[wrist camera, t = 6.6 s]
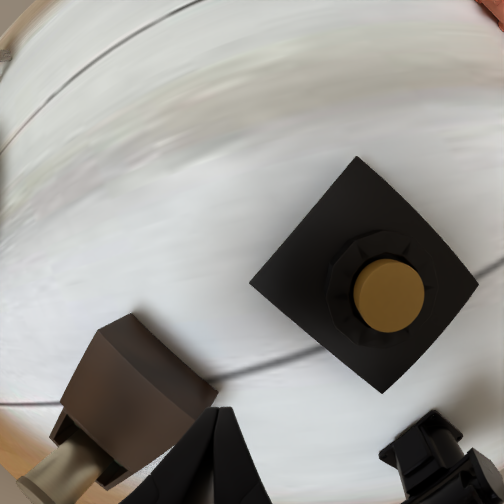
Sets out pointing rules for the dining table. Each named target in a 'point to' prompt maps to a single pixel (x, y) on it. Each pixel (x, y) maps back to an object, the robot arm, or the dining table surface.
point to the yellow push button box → (350, 266)
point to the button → (388, 295)
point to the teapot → (495, 9)
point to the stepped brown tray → (130, 398)
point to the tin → (65, 471)
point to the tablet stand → (1, 56)
